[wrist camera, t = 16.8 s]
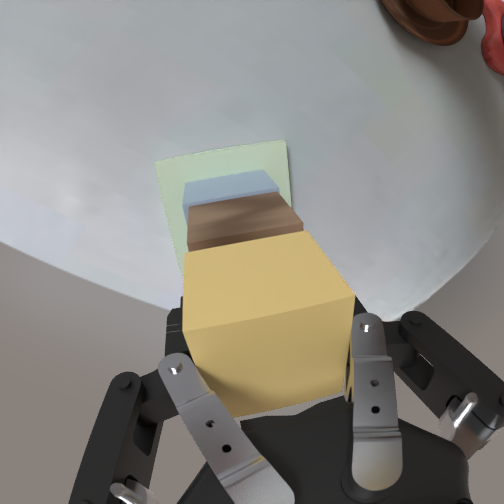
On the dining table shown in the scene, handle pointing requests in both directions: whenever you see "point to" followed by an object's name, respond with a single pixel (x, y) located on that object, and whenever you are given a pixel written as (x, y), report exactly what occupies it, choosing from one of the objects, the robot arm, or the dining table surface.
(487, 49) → the stacking bear
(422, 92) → the dining table surface
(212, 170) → the tower base
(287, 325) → the ochre brick
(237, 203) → the walnut brick
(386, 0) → the cup and saucer
